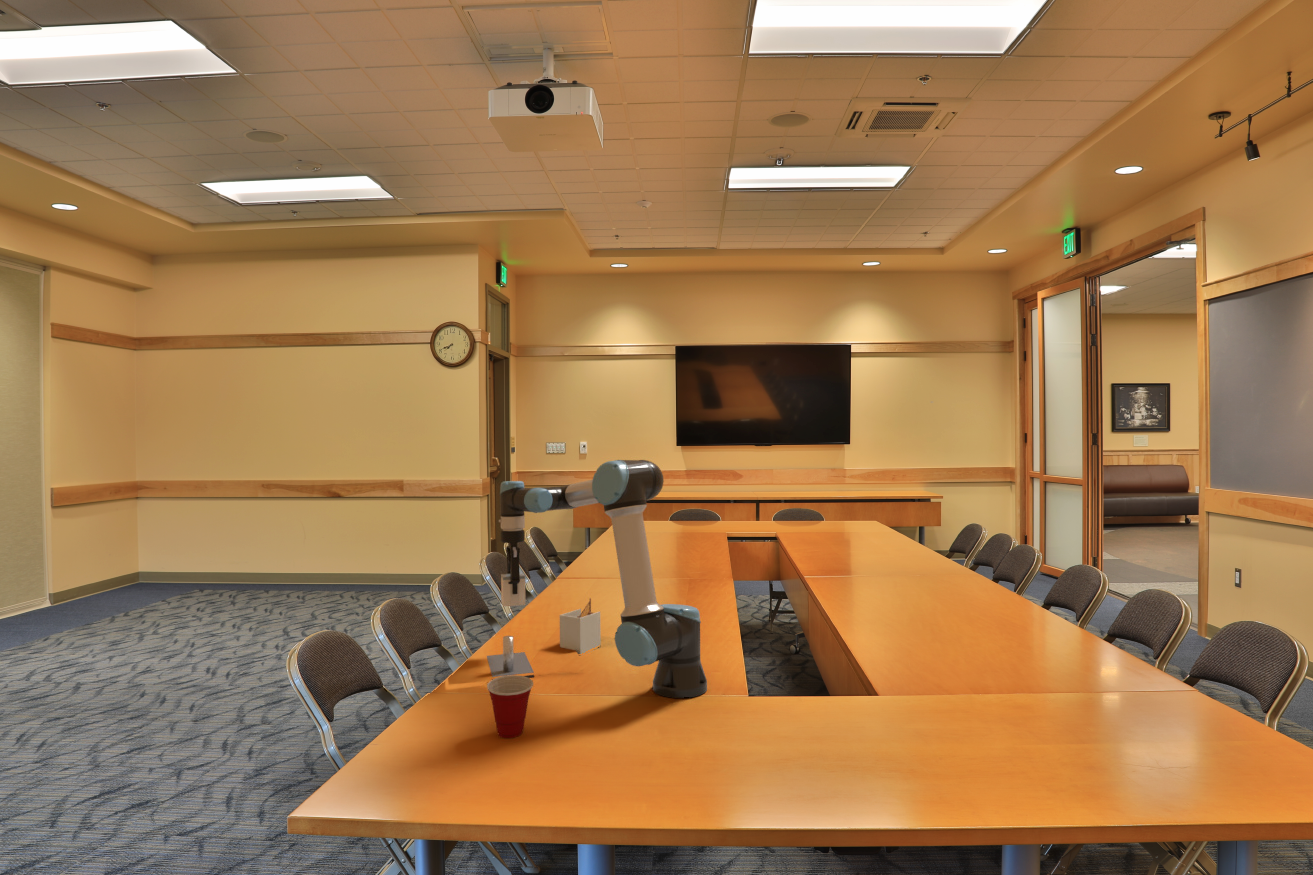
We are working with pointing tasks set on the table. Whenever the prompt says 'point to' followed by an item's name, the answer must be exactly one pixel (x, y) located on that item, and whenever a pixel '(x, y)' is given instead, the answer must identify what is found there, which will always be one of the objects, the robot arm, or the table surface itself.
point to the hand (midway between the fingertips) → (513, 601)
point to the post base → (517, 665)
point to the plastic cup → (510, 703)
